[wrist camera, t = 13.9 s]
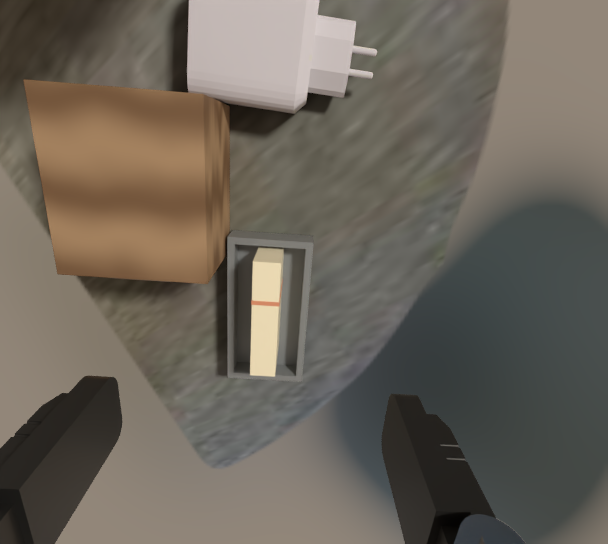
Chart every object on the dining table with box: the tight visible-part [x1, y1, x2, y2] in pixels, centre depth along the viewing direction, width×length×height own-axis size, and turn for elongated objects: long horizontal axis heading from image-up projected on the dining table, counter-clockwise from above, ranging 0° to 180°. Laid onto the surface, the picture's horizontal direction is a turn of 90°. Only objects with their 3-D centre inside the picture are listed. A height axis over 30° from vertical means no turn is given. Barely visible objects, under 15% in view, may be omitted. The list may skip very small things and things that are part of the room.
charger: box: [187, 0, 377, 114], centre depth 30 cm, size 5×9×15 cm
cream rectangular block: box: [250, 246, 284, 377], centre depth 37 cm, size 12×3×6 cm, turn 176°
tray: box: [227, 230, 313, 382], centre depth 39 cm, size 16×8×3 cm, turn 176°
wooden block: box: [23, 79, 230, 284], centre depth 31 cm, size 15×12×10 cm
